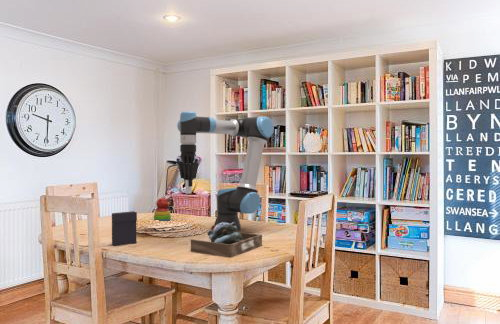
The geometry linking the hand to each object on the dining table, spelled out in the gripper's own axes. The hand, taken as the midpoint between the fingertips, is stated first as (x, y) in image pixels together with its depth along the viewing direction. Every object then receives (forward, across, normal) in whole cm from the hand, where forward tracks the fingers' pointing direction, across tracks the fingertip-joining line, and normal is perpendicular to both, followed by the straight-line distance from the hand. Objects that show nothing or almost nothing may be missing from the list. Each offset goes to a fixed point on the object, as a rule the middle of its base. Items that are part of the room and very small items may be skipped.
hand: (188, 193), depth 211 cm
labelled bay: (+24, +22, 0) cm, 32 cm away
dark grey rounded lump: (+24, +22, -1) cm, 32 cm away
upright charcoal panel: (+24, -24, -18) cm, 39 cm away
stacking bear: (+24, -34, +20) cm, 46 cm away
